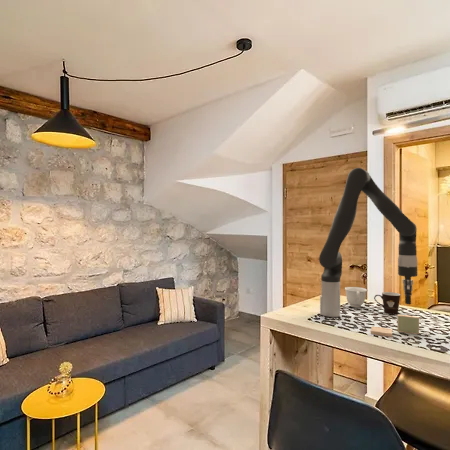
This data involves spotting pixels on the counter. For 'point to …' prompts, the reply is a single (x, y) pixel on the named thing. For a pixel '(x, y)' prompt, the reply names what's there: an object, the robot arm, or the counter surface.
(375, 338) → the counter surface
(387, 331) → the tile
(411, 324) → the tile
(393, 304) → the coffee mug
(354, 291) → the teacup
